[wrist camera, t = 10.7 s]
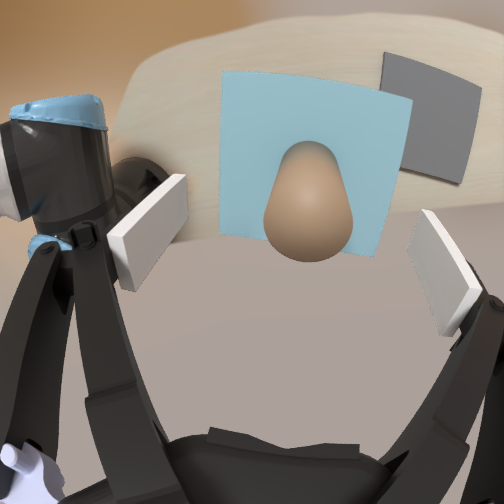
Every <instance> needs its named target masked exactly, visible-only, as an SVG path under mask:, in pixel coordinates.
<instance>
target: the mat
mask: <svg viewBox="0 0 504 504" xmlns="http://www.w3.org/2000/svg"><path fill="white" fill-rule="evenodd" d="M380 91H383V92H387V93H390V94H394V95H398V96H401V97H405V98H408V99H411V100H413V104H412V110H411V116H410V121H409V127H408V132H407V137H406V142H405V146H404V151H403V155H402V160H401V164H400V167H402V168H406V169H410V170H414V171H417V172H421V173H425V174H429V175H432V176H436V177H439V178H443V179H446V180H449V181H453V182H456V183H459V184H461V183H462V180H463V176H464V173H465V169H466V166H467V162H468V158H469V154H470V150H471V146H472V141H473V137H474V132H475V127H476V122H477V117H478V111H479V105H480V99H481V92H482V88H481V87H479V86H477V85H475V84H473V83H471V82H469V81H466V80H464V79H462V78H460V77H457V76H455V75H452V74H450V73H448V72H445V71H443V70H440V69H437V68H435V67H432V66H429V65H426V64H424V63H421V62H418V61H415V60H412V59H408V58H405V57H402V56H398V55H395V54H391V53H388V52H384V55H383V65H382V74H381V83H380Z"/></svg>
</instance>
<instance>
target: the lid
mask: <svg viewBox="0 0 504 504" xmlns="http://www.w3.org/2000/svg"><path fill="white" fill-rule="evenodd" d="M412 104H413V100H411V99H408V98H405V97H401V96H398V95H394V94H390V93H387V92H383V91H379V90H375V89H371V88H366V87H362V86H357V85H352V84H347V83H342V82H337V81H331V80H325V79H319V78H312V77H304V76H296V75H287V74H277V73H264V72H245V71H223V74H222V96H221V125H220V167H219V234H226V235H233V236H240V237H247V238H253V239H261V240H267V241H269V242H270V243H271V245H272V246H273V247H274V248H275V249H276V250H277V251H278V252H280V253H281V254H283V255H284V256H286V257H288V258H290V259H293V260H296V261H301V262H318V261H322V260H325V259H328V258H330V257H332V256H334V255H335V254H337V253H338V252H344V253H351V254H357V255H363V256H369V257H374V254H375V251H376V248H377V245H378V242H379V239H380V236H381V233H382V230H383V226H384V223H385V220H386V217H387V213H388V210H389V206H390V203H391V199H392V196H393V192H394V188H395V184H396V180H397V176H398V172H399V168H400V164H401V160H402V155H403V151H404V146H405V142H406V137H407V132H408V127H409V121H410V116H411V110H412Z"/></svg>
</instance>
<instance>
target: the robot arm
mask: <svg viewBox="0 0 504 504" xmlns="http://www.w3.org/2000/svg"><path fill="white" fill-rule="evenodd" d="M9 118H10V119H11V120H10V121H8V122H5V123H3V124H0V217H2V216H7V217H9V218H11V219H13V220H15V221H18V222H21V221H23V220H25V219H27V218H29V217H31V216H32V218H33V221H34V224H35V227H36V230H37V235H35V236H34V237H33V238H32V239H31V242H30V243H29V246H28V256H29V259H30V262H29V264H28V266H27V268H26V270H25V272H24V275H23V276H22V279H21V281H20V283H19V286H18V288H17V291H16V293H15V295H14V298H13V300H12V303H11V305H10V308H9V310H8V313H7V316H6V319H5V321H4V324H3V327H2V330H1V333H0V502H3V503H5V504H439V503H440V502H441V500H442V499H443V497H444V496H445V494H446V493H447V491H448V489H449V488H450V486H451V484H452V483H453V481H454V479H455V477H456V476H457V474H458V472H459V470H460V468H461V466H462V464H463V463H464V460H465V459H466V457H467V454H468V452H469V449H470V447H469V444H467V443H466V442H465V441H466V439H467V436H468V434H469V432H470V430H471V428H472V425H473V423H474V421H475V419H476V416H477V414H478V411H479V408H480V406H481V404H482V401H483V398H484V396H485V402H484V409H483V415H482V422H481V427H480V432H479V437H478V441H477V446H476V450H475V454H474V458H473V462H472V465H471V469H470V473H469V476H468V479H467V482H466V485H465V488H464V491H463V495H462V498H461V502H460V504H504V303H503V302H502V301H501V300H500V299H499V298H497V297H495V296H493V295H489V294H488V292H487V291H486V289H485V287H484V285H483V283H482V281H481V280H480V279H479V276H478V275H477V274H476V271H475V270H474V268H473V267H472V265H471V264H470V263H469V262H468V261H467V260H466V259H465V258H464V257H463V255H462V254H461V252H460V251H459V249H458V247H457V246H456V244H455V243H454V241H453V240H452V238H451V237H450V236H449V234H448V233H447V231H446V230H445V228H444V227H443V225H442V224H441V223H440V221H439V220H438V219H437V217H436V216H435V214H434V213H433V212H432V211H428V210H424V209H421V211H420V214H419V217H418V220H417V223H416V226H415V230H414V232H413V235H412V238H411V241H410V243H409V246H408V248H407V252H408V254H409V256H410V258H411V261H412V263H413V265H414V268H415V270H416V273H417V275H418V278H419V280H420V283H421V285H422V288H423V290H424V293H425V296H426V298H427V301H428V304H429V307H430V309H431V312H432V315H433V318H434V321H435V324H436V327H437V330H438V333H439V336H446V337H447V336H448V337H453V335H454V334H455V332H456V331H457V329H458V328H460V330H461V333H462V334H461V335H460V337H459V338H458V339H457V341H456V342H455V344H454V345H453V346H452V347H451V349H450V351H452V352H451V354H450V356H449V358H448V360H447V362H446V364H445V365H444V367H443V369H442V371H441V373H440V374H439V377H438V378H437V380H436V382H435V383H434V385H433V387H432V389H431V390H430V392H429V394H428V395H427V397H426V398H425V400H424V402H423V403H422V405H421V406H420V408H419V409H418V411H417V412H416V414H415V415H414V417H413V418H412V420H411V421H410V423H409V424H408V426H407V427H406V428H405V430H404V431H403V432H402V434H401V435H400V437H399V438H398V439H397V441H396V442H395V443H394V445H393V446H392V447H391V448H390V450H389V451H388V452H387V453H386V454H385V455H384V456H383V457H381V458H380V459H379V460H378V461H377V460H376V459H374V458H372V457H370V456H368V455H365V454H363V453H359V446H360V445H359V444H329V443H323V444H318V445H311V446H306V447H298V448H290V449H284V448H281V447H278V446H275V445H273V444H270V443H268V442H265V441H262V440H260V439H258V438H255V437H253V436H250V435H248V434H243V433H238V432H233V431H228V430H223V429H218V428H214V427H210V429H209V432H208V434H201V435H191V436H187V437H183V438H180V439H176V440H174V441H172V442H169V439H168V437H167V435H166V433H165V431H164V430H163V427H162V426H161V424H160V421H159V419H158V417H157V415H156V412H155V410H154V408H153V405H152V403H151V400H150V398H149V395H148V392H147V390H146V387H145V385H144V382H143V379H142V377H141V374H140V371H139V368H138V365H137V362H136V360H135V357H134V354H133V351H132V347H131V345H130V341H129V338H128V335H127V332H126V328H125V325H124V321H123V318H122V314H121V310H120V307H119V303H118V299H117V295H116V291H115V288H114V285H113V284H114V283H115V282H116V280H117V279H118V280H119V283H120V286H121V289H124V290H128V291H132V292H136V291H137V289H138V288H139V287H140V285H141V284H142V282H143V281H144V279H145V278H146V276H147V275H148V273H149V272H150V271H151V269H152V268H153V266H154V265H155V263H156V262H157V261H158V259H159V258H160V256H161V255H162V254H163V252H164V251H165V249H166V248H167V247H168V245H169V244H170V242H171V241H172V240H173V238H174V237H175V236H176V234H177V233H178V232H179V230H180V229H181V228H182V226H183V225H184V224H185V222H186V221H187V220H188V200H187V179H186V174H173V175H172V176H170V177H169V175H168V174H167V173H166V172H165V171H164V170H163V169H162V168H161V167H160V166H159V165H157V164H156V163H154V162H152V161H150V160H147V159H144V158H138V157H133V158H127V159H125V160H122V161H121V162H119V163H117V164H116V165H114V166H113V167H111V163H110V155H109V146H108V136H107V131H108V127H107V126H106V122H105V116H104V107H103V103H102V101H101V100H100V98H98V97H97V96H95V95H90V94H87V95H86V94H85V95H72V96H64V97H56V98H50V99H44V100H39V101H35V102H30V103H26V104H20V105H17V106H14V107H12V109H11V110H10V114H9ZM74 303H75V310H76V320H77V328H78V336H79V343H80V350H81V357H82V362H83V368H84V373H85V378H86V383H87V388H88V393H89V395H88V397H86V398H85V408H86V412H87V416H88V420H89V424H90V428H91V431H92V435H93V438H94V441H95V445H96V448H97V451H98V454H99V457H100V461H101V463H102V466H103V469H104V472H105V475H106V477H107V478H106V479H103V480H101V481H100V482H98V483H96V484H93V485H91V486H89V487H87V488H85V489H83V490H81V491H79V492H76V493H74V494H72V495H70V496H67V497H65V495H64V494H63V491H62V487H63V486H64V483H65V482H64V477H63V476H62V474H61V472H60V469H59V467H58V465H57V464H56V457H57V449H58V437H59V436H58V435H59V408H60V395H61V383H62V373H63V365H64V357H65V351H66V344H67V338H68V332H69V326H70V321H71V316H72V311H73V306H74ZM485 393H486V394H485Z"/></svg>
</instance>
